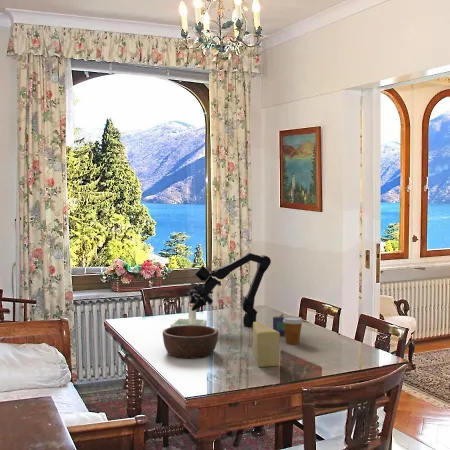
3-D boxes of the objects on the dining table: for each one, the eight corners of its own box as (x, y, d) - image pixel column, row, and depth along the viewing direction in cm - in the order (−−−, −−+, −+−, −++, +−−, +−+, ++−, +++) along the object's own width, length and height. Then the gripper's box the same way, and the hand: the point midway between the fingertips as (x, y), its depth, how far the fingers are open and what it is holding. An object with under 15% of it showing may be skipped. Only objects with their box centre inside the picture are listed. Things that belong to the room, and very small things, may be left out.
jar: (197, 322, 332) (197, 303, 331) (192, 323, 329) (192, 304, 328) (192, 321, 335) (192, 302, 334) (187, 322, 332) (186, 304, 331)
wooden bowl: (175, 363, 267) (175, 339, 267) (154, 350, 289) (154, 328, 289) (227, 356, 279) (227, 333, 278) (203, 344, 301) (203, 322, 300)
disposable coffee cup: (305, 341, 306) (305, 317, 305) (298, 346, 297) (299, 320, 296) (286, 339, 310) (286, 315, 309) (279, 343, 301) (280, 319, 300)
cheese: (244, 354, 283) (244, 321, 282) (265, 352, 285) (265, 320, 284) (257, 367, 261) (257, 332, 260) (280, 366, 263) (280, 330, 262)
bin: (206, 326, 338) (206, 319, 338) (201, 333, 322) (201, 325, 322) (177, 325, 340) (177, 318, 340) (170, 332, 324) (170, 324, 324)
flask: (290, 333, 322) (291, 313, 322) (291, 335, 319) (291, 314, 319) (272, 333, 323) (272, 312, 322) (273, 334, 320) (273, 314, 319)
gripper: (190, 275, 340) (172, 297, 335) (207, 279, 325) (188, 302, 319) (203, 288, 345) (185, 310, 340) (220, 293, 329) (202, 316, 324)
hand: (190, 309), depth 331 cm, fingers closed on jar, 4 cm apart
